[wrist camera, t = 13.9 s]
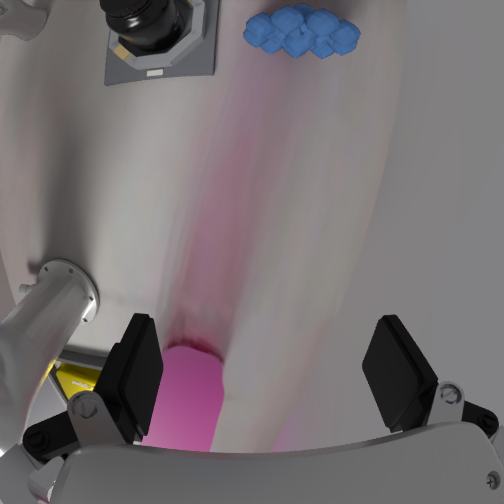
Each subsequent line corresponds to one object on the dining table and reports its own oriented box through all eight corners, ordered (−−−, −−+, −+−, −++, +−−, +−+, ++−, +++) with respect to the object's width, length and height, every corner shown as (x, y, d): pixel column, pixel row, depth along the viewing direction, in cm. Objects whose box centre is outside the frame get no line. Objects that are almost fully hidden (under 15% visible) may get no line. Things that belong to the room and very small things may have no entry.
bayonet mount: (106, 85, 28) (94, 82, 25) (118, -2, 22) (108, -11, 19) (213, 75, 28) (210, 69, 25) (220, -16, 23) (218, -28, 19)
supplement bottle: (196, 28, 25) (176, -14, 14) (152, 63, 27) (111, 37, 16) (165, -1, 23) (135, -44, 12) (123, 33, 24) (77, 3, 13)
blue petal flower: (338, 30, 26) (377, -4, 15) (335, 74, 29) (377, 54, 18) (246, 15, 25) (248, -31, 14) (240, 61, 28) (240, 27, 17)
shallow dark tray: (71, 400, 54) (68, 407, 51) (41, 344, 46) (36, 351, 43) (140, 415, 55) (138, 423, 52) (117, 360, 46) (113, 369, 44)
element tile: (121, 373, 49) (114, 390, 44) (131, 411, 55) (126, 427, 50) (61, 356, 47) (52, 371, 43) (77, 396, 53) (71, 410, 49)
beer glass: (55, 2, 20) (-2, -23, 6) (41, 39, 23) (-24, 24, 9) (27, 10, 19) (-30, -6, 5) (14, 46, 22) (-48, 38, 8)
